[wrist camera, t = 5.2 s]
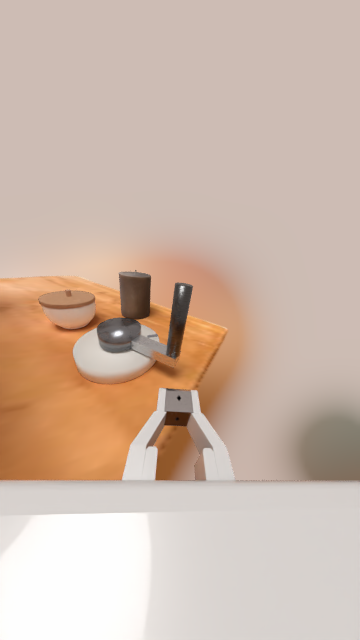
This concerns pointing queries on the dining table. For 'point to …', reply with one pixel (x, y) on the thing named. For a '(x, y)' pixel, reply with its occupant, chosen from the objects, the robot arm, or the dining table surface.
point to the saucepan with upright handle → (128, 336)
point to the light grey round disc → (110, 360)
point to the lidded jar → (69, 308)
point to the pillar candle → (135, 294)
